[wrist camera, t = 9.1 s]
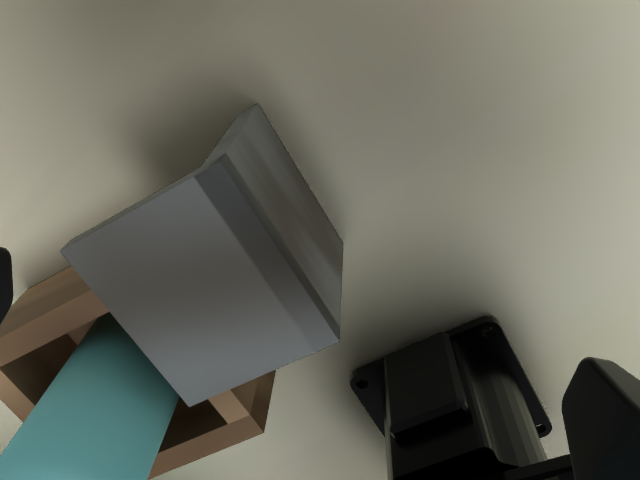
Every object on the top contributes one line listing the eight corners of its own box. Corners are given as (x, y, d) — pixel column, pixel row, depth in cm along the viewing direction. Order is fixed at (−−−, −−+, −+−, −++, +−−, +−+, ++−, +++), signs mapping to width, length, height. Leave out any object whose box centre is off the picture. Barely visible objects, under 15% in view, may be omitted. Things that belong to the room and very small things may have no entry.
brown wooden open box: (382, 307, 23) (391, 420, 18) (138, 415, 26) (80, 539, 21) (258, 103, 20) (220, 161, 14) (-4, 254, 23) (-118, 350, 17)
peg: (218, 353, 23) (158, 531, 16) (139, 389, 24) (49, 572, 17) (158, 275, 22) (63, 433, 15) (77, 317, 23) (-50, 484, 16)
